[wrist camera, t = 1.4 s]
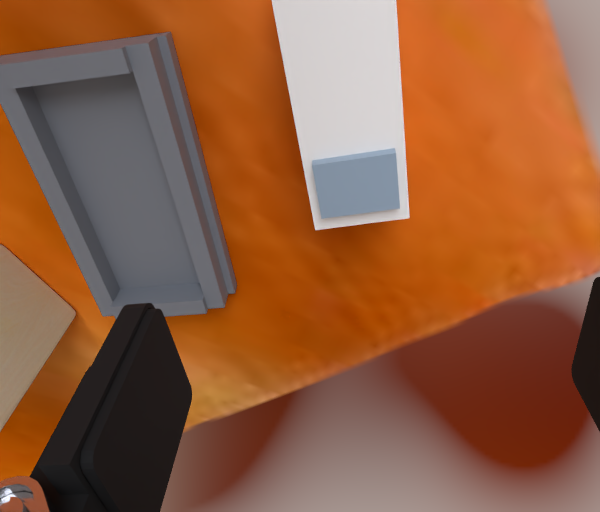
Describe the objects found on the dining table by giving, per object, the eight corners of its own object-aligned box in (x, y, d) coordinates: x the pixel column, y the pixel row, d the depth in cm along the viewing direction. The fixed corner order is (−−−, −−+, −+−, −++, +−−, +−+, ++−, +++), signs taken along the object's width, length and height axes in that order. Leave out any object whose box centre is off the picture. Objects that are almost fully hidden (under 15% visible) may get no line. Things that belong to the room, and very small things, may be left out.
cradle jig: (-1, 55, 27) (-33, 69, 25) (170, 31, 26) (154, 43, 24) (109, 294, 37) (93, 321, 35) (237, 284, 36) (230, 311, 34)
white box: (279, -35, 24) (265, -21, 19) (379, -56, 24) (395, -47, 18) (317, 180, 31) (314, 236, 26) (396, 169, 30) (411, 224, 25)
